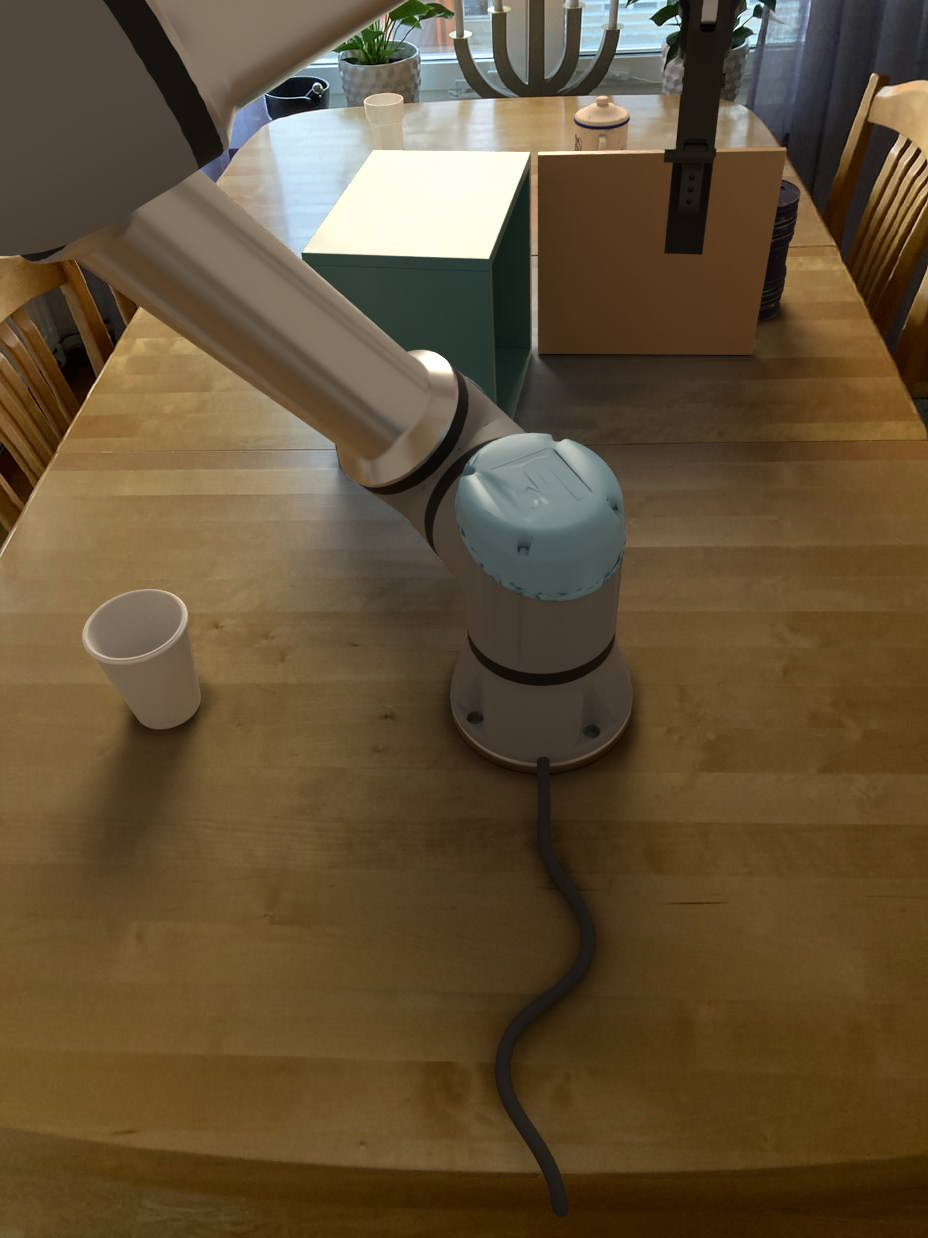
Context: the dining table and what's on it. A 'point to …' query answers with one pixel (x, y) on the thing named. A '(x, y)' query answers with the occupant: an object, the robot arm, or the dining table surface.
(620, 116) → the teacup with lid
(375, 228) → the box
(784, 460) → the dining table surface
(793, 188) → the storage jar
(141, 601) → the dixie cup
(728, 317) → the fridge door
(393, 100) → the cup
